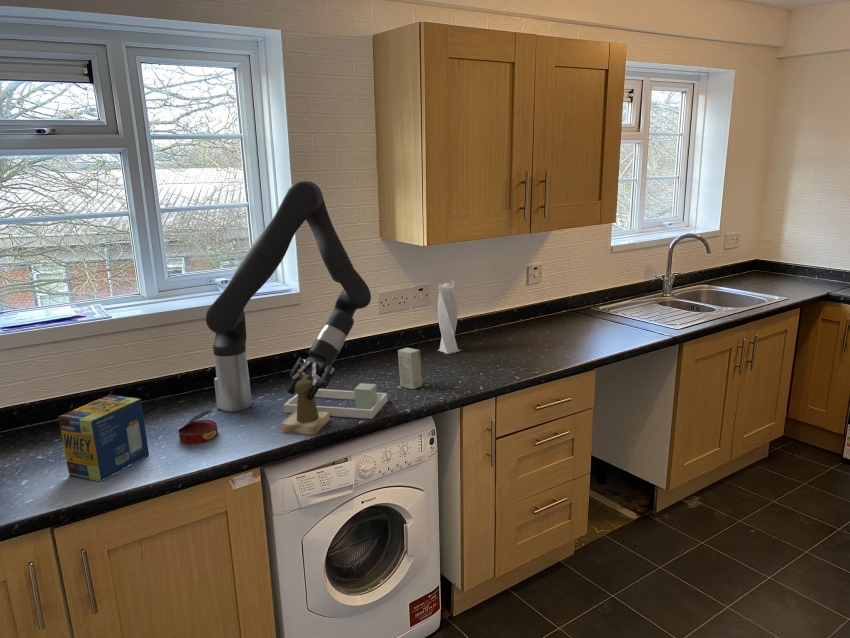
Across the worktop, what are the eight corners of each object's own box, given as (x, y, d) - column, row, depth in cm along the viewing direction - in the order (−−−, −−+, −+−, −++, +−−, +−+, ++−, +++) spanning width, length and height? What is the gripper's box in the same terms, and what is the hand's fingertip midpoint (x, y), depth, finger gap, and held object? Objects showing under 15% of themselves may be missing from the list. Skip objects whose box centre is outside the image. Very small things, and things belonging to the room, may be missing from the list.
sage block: (355, 411, 183) (354, 389, 181) (361, 405, 187) (360, 383, 186) (371, 412, 181) (370, 390, 180) (377, 406, 186) (376, 384, 184)
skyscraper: (464, 352, 236) (463, 279, 229) (447, 356, 232) (445, 282, 225) (451, 347, 243) (449, 276, 236) (434, 351, 239) (432, 279, 232)
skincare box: (422, 386, 201) (421, 350, 198) (413, 390, 198) (411, 353, 195) (408, 382, 206) (406, 346, 203) (399, 385, 203) (397, 349, 200)
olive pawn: (312, 412, 177) (309, 375, 174) (322, 418, 172) (319, 381, 169) (293, 417, 173) (289, 380, 171) (302, 424, 168) (298, 386, 166)
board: (281, 431, 170) (280, 423, 169) (297, 417, 179) (296, 409, 179) (314, 434, 167) (314, 426, 167) (329, 420, 177) (329, 412, 176)
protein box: (68, 476, 149) (56, 416, 145) (119, 449, 163) (110, 393, 159) (100, 483, 145) (90, 421, 142) (150, 454, 159) (141, 397, 156)
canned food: (191, 461, 165) (168, 435, 160) (188, 443, 174) (166, 418, 169) (228, 436, 167) (207, 410, 162) (223, 419, 176) (203, 394, 171)
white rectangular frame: (284, 412, 184) (283, 404, 183) (305, 395, 197) (304, 388, 196) (372, 418, 177) (371, 410, 176) (387, 401, 190) (387, 393, 189)
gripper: (303, 334, 178) (273, 384, 172) (337, 341, 169) (307, 395, 163) (319, 347, 183) (290, 397, 177) (352, 355, 174) (324, 407, 168)
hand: (298, 396), depth 170 cm, fingers open, 7 cm apart
